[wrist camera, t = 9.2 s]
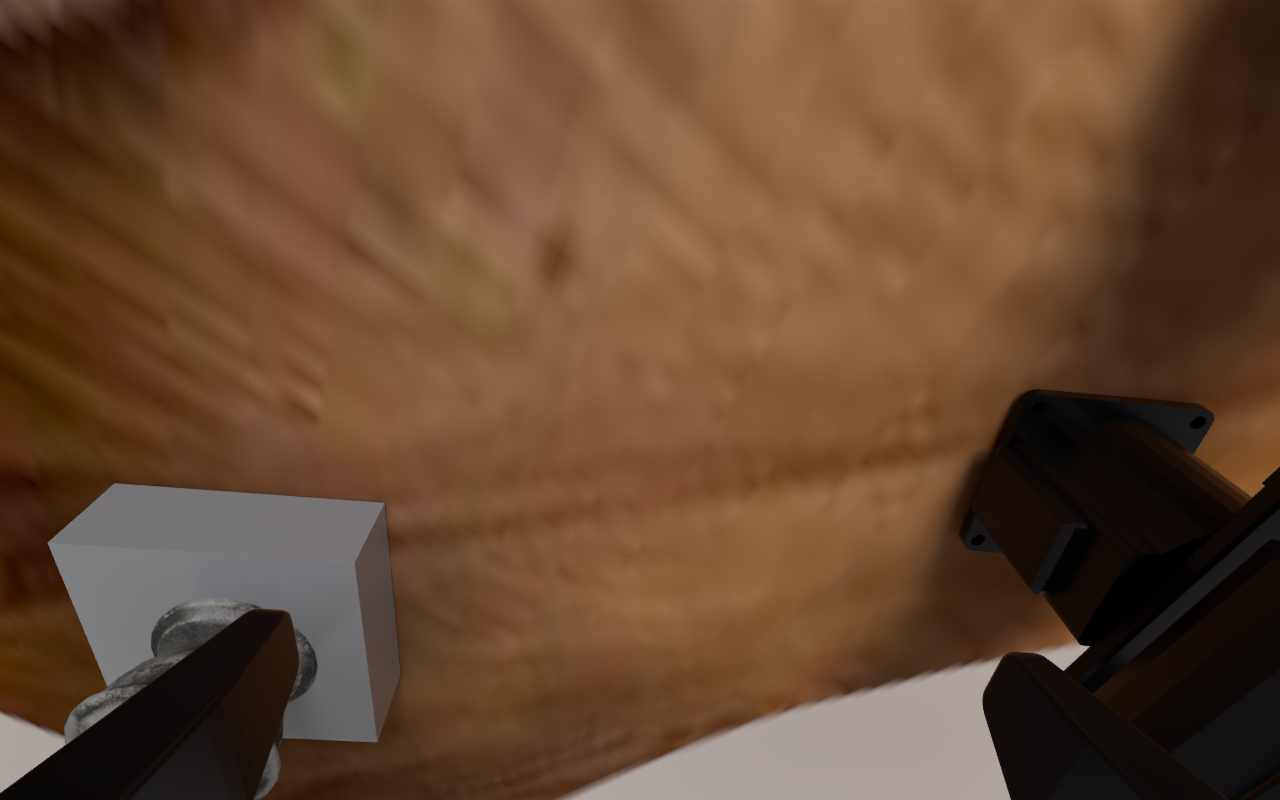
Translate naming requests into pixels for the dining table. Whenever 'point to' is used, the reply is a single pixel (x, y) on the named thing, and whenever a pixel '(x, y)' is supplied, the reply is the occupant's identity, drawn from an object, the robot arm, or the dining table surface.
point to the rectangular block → (244, 586)
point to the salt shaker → (169, 646)
